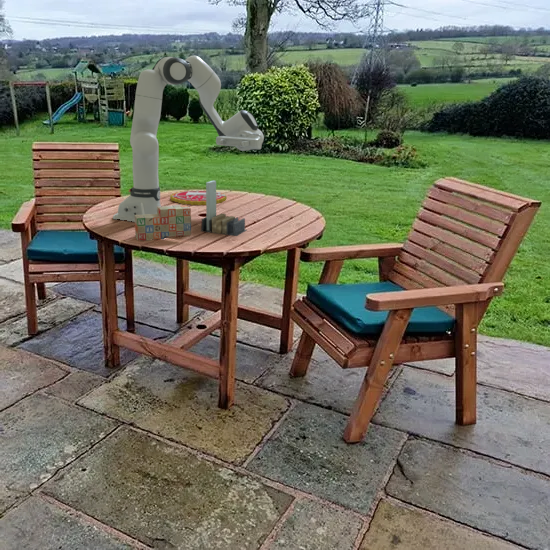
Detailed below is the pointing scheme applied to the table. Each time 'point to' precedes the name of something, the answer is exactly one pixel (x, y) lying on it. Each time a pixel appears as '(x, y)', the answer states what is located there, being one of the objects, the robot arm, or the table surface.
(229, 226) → the slot rack
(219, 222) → the offcut
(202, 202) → the decorative sign
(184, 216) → the stack of blocks
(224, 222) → the offcut
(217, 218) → the offcut
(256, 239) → the table surface
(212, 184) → the tall panel
